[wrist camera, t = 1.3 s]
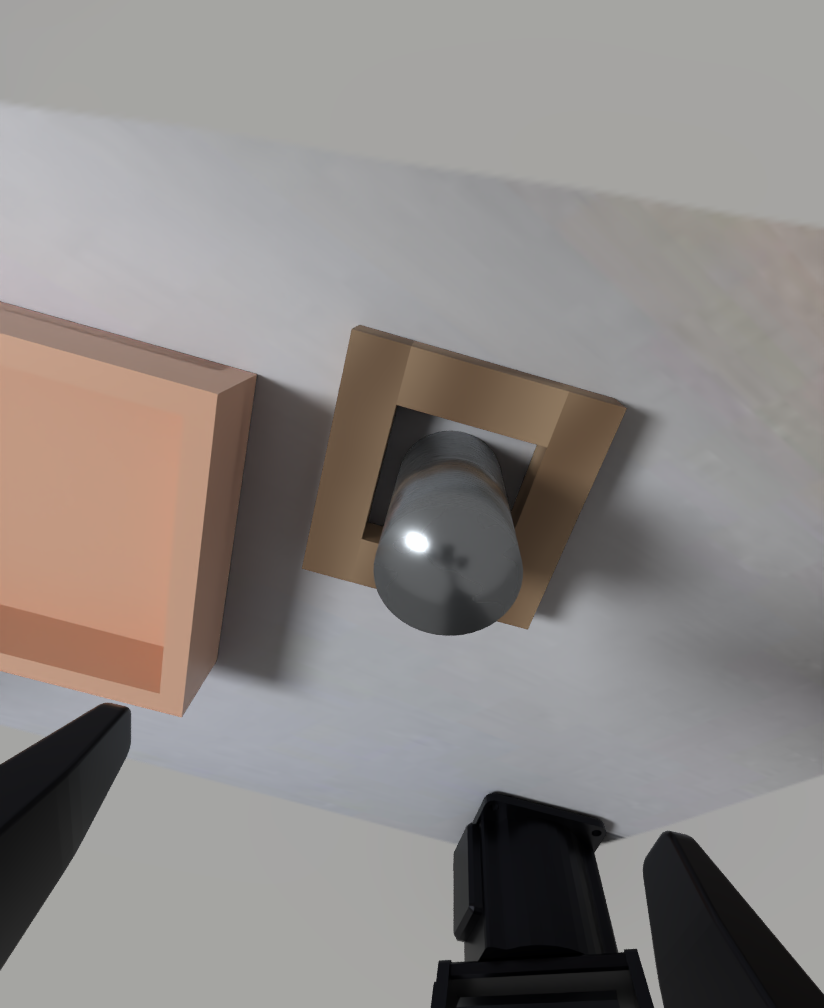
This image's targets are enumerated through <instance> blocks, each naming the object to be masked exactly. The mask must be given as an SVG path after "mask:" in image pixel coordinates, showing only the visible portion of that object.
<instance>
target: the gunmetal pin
mask: <svg viewBox="0 0 824 1008" xmlns="http://www.w3.org/2000/svg"><path fill="white" fill-rule="evenodd" d="M373 572H374V581H375V585H376V588H377V591H378V593H379V595H380V597H381V599H382V601H383V602H384V604H385V605H386V606H387V608H388V609H389V610H390V611H391V612H392V613H393V614H394V615H395V616H396V617H397V618H399V619H400V620H401V621H403V622H404V623H406V624H408V625H409V626H411V627H413V628H416V629H418V630H421V631H424V632H427V633H431V634H436V635H463V634H468V633H472V632H475V631H478V630H481V629H483V628H485V627H488V626H490V625H491V624H493V623H494V622H496V621H497V620H499V619H500V618H501V617H502V616H503V615H504V614H505V613H506V612H507V611H508V610H509V609H510V608H511V606H512V605H513V604H514V602H515V600H516V598H517V596H518V594H519V592H520V589H521V585H522V580H523V565H522V559H521V555H520V550H519V546H518V542H517V538H516V533H515V529H514V525H513V520H512V516H511V512H510V507H509V503H508V499H507V495H506V490H505V486H504V482H503V477H502V473H501V469H500V465H499V462H498V460H497V458H496V456H495V455H494V453H493V452H492V450H491V449H490V448H489V447H488V446H487V445H486V444H485V443H484V442H482V441H481V440H480V439H478V438H476V437H474V436H472V435H470V434H467V433H463V432H459V431H442V432H437V433H434V434H431V435H428V436H426V437H424V438H423V439H421V440H419V441H418V442H417V443H416V444H414V445H413V446H412V447H411V449H410V450H409V451H408V452H407V454H406V455H405V457H404V459H403V461H402V464H401V467H400V470H399V474H398V477H397V481H396V484H395V488H394V492H393V495H392V499H391V502H390V506H389V509H388V513H387V516H386V520H385V523H384V527H383V530H382V534H381V537H380V541H379V544H378V548H377V551H376V555H375V560H374V571H373Z"/></svg>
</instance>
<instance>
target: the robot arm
mask: <svg viewBox="0 0 824 1008" xmlns="http://www.w3.org/2000/svg"><path fill="white" fill-rule="evenodd" d="M130 745H131V711H130V709H129V708H128V707H126V706H121V705H117V704H112V703H103V704H100V705H98V706H97V707H95V708H93V709H92V710H90V711H88V712H87V713H85V714H83V715H82V716H80V717H78V718H77V719H75V720H73V721H72V722H70V723H68V724H67V725H65V726H63V727H62V728H60V729H58V730H57V731H55V732H53V733H52V734H50V735H48V736H47V737H45V738H43V739H42V740H40V741H39V742H37V743H35V744H34V745H32V746H30V747H29V748H27V749H25V750H24V751H22V752H20V753H19V754H17V755H15V756H14V757H12V758H10V759H9V760H7V761H5V762H4V763H2V764H0V970H1V969H2V967H3V966H4V964H5V963H6V961H7V959H8V958H9V956H10V955H11V953H12V952H13V950H14V949H15V947H16V946H17V944H18V942H19V941H20V939H21V938H22V936H23V935H24V933H25V932H26V930H27V928H28V927H29V925H30V924H31V922H32V921H33V919H34V918H35V916H36V915H37V913H38V912H39V910H40V908H41V907H42V905H43V904H44V902H45V901H46V899H47V898H48V896H49V895H50V893H51V892H52V890H53V889H54V887H55V885H56V884H57V882H58V881H59V879H60V878H61V876H62V875H63V873H64V871H65V870H66V868H67V867H68V865H69V863H70V861H71V860H72V859H73V857H74V855H75V853H76V852H77V850H78V848H79V846H80V844H81V842H82V841H83V839H84V837H85V835H86V833H87V831H88V829H89V827H90V825H91V823H92V821H93V820H94V818H95V816H96V814H97V812H98V810H99V808H100V806H101V804H102V803H103V801H104V799H105V797H106V795H107V793H108V791H109V789H110V787H111V785H112V784H113V782H114V780H115V778H116V776H117V774H118V772H119V770H120V768H121V766H122V765H123V763H124V760H125V759H126V757H127V754H128V752H129V749H130ZM605 836H606V829H605V826H604V823H603V822H602V821H600V820H598V819H594V818H590V817H586V816H582V815H578V814H574V813H571V812H567V811H563V810H559V809H555V808H551V807H547V806H543V805H539V804H535V803H531V802H528V801H524V800H520V799H516V798H512V797H508V796H504V795H500V794H496V793H492V794H488V795H486V797H485V798H484V800H483V802H482V804H481V806H480V808H479V810H478V812H477V814H476V816H475V818H474V820H473V823H470V824H469V825H468V826H467V827H466V829H465V831H464V833H463V835H462V837H461V839H460V841H459V843H458V845H457V848H456V850H455V851H454V863H453V871H454V935H455V937H456V939H457V940H458V941H462V942H464V948H465V949H464V953H465V962H451V960H442V961H439V963H438V971H437V979H436V982H434V985H433V994H432V1003H431V1008H654V1006H653V1003H652V999H651V996H650V992H649V989H648V985H647V982H646V979H645V975H644V972H643V968H642V965H641V961H640V958H639V955H638V952H637V949H626V950H624V952H623V953H622V952H621V953H618V949H617V945H616V941H615V937H614V933H613V929H612V925H611V920H610V916H609V912H608V908H607V904H606V899H605V895H604V891H603V887H602V883H601V879H600V875H599V870H598V867H597V862H596V858H595V854H594V852H595V851H596V849H597V848H598V846H599V845H600V843H601V842H602V840H603V839H604V837H605ZM643 878H644V885H645V892H646V899H647V906H648V913H649V919H650V926H651V933H652V940H653V948H654V954H655V962H656V968H657V974H658V980H659V986H660V990H661V995H662V1000H663V1005H664V1008H824V994H823V993H822V992H821V990H820V989H819V988H818V987H817V986H816V984H815V983H814V982H813V981H812V980H811V978H810V977H809V976H808V975H807V974H806V972H805V971H804V970H803V969H802V968H801V966H800V965H799V964H798V963H797V962H796V960H795V959H794V958H793V957H792V956H791V954H790V953H789V952H788V951H787V950H786V949H785V947H784V946H783V945H782V944H781V943H780V941H779V940H778V939H777V938H776V937H775V935H774V934H773V933H772V932H771V931H770V929H769V928H768V927H767V926H766V925H765V923H764V922H763V921H762V920H761V919H760V918H759V916H758V915H757V914H756V913H755V911H754V910H753V909H752V908H751V907H750V905H749V904H748V903H747V902H746V901H745V899H744V898H743V897H742V896H741V895H740V893H739V892H738V891H737V890H736V889H735V888H734V886H733V885H732V884H731V883H730V882H729V880H728V879H727V878H726V877H725V876H724V874H723V873H722V872H721V871H720V870H719V868H718V867H717V866H716V865H715V864H714V863H713V861H712V860H711V859H710V858H709V856H708V855H707V854H706V853H705V852H704V850H703V849H702V848H701V847H700V846H699V844H698V843H697V842H696V841H695V840H694V839H693V838H692V837H690V836H688V835H685V834H681V833H677V832H672V831H665V832H663V833H662V834H661V836H660V837H659V838H658V840H657V841H656V843H655V844H654V846H653V847H652V849H651V850H650V852H649V853H648V855H647V856H646V858H645V860H644V864H643Z"/></svg>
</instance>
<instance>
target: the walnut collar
mask: <svg viewBox="0 0 824 1008" xmlns="http://www.w3.org/2000/svg"><path fill="white" fill-rule="evenodd" d="M398 405H399V406H402V407H406V408H409V409H413V410H416V411H420V412H424V413H427V414H431V415H434V416H438V417H441V418H445V419H448V420H452V421H455V422H459V423H462V424H466V425H469V426H473V427H476V428H480V429H483V430H487V431H490V432H494V433H498V434H501V435H505V436H508V437H512V438H515V439H519V440H522V441H526V442H529V443H533V444H536V445H537V446H536V449H535V451H534V454H533V457H532V459H531V462H530V464H529V467H528V469H527V472H526V475H525V477H524V480H523V482H522V485H521V488H520V490H519V493H518V495H517V498H516V501H515V503H514V506H513V508H512V511H511V516H512V520H513V525H514V529H515V533H516V538H517V542H518V546H519V550H520V555H521V559H522V565H523V580H522V585H521V589H520V592H519V594H518V596H517V598H516V600H515V602H514V604H513V605H512V606H511V608H510V609H509V610H508V611H507V612H506V613H505V614H504V615H503V616H502V617H501V618H500V619H499V620H497V621H498V622H502V623H505V624H509V625H513V626H516V627H520V628H524V629H528V628H529V626H530V623H531V621H532V619H533V617H534V614H535V612H536V610H537V608H538V606H539V603H540V601H541V599H542V597H543V594H544V592H545V590H546V588H547V585H548V583H549V581H550V579H551V577H552V574H553V572H554V570H555V568H556V565H557V563H558V561H559V559H560V556H561V554H562V552H563V550H564V548H565V545H566V543H567V541H568V539H569V536H570V534H571V532H572V530H573V527H574V525H575V523H576V521H577V518H578V516H579V514H580V512H581V510H582V507H583V505H584V503H585V501H586V498H587V496H588V494H589V492H590V489H591V487H592V485H593V483H594V481H595V478H596V476H597V474H598V472H599V469H600V467H601V465H602V463H603V460H604V458H605V456H606V454H607V452H608V449H609V447H610V445H611V443H612V440H613V438H614V436H615V434H616V431H617V429H618V427H619V425H620V422H621V420H622V418H623V416H624V414H625V411H626V409H627V408H626V407H625V406H623V405H622V404H621V403H619V402H618V401H617V400H616V399H614V398H611V397H608V396H604V395H601V394H597V393H594V392H590V391H587V390H583V389H580V388H576V387H573V386H569V385H566V384H563V383H559V382H556V381H552V380H549V379H545V378H542V377H538V376H535V375H531V374H528V373H524V372H521V371H518V370H514V369H511V368H507V367H504V366H500V365H497V364H493V363H490V362H486V361H483V360H479V359H476V358H473V357H469V356H466V355H462V354H459V353H455V352H452V351H448V350H445V349H441V348H438V347H434V346H431V345H428V344H424V343H421V342H417V341H414V340H410V339H407V338H403V337H400V336H396V335H393V334H389V333H386V332H383V331H379V330H376V329H372V328H369V327H365V326H362V325H358V326H356V327H355V328H353V329H352V330H351V335H350V340H349V345H348V350H347V354H346V359H345V364H344V369H343V374H342V378H341V383H340V388H339V393H338V398H337V402H336V407H335V412H334V417H333V421H332V426H331V431H330V436H329V441H328V445H327V450H326V455H325V460H324V465H323V469H322V474H321V479H320V484H319V489H318V493H317V498H316V503H315V508H314V512H313V517H312V522H311V527H310V532H309V536H308V541H307V546H306V551H305V556H304V560H303V565H302V569H305V570H309V571H312V572H316V573H320V574H323V575H327V576H331V577H335V578H338V579H342V580H346V581H349V582H353V583H357V584H361V585H364V586H368V587H372V588H375V589H377V588H376V585H375V581H374V572H373V571H374V560H375V555H376V551H377V548H378V544H379V541H380V537H381V534H382V530H383V526H379V525H376V524H372V523H368V518H369V514H370V511H371V507H372V503H373V499H374V495H375V491H376V487H377V484H378V480H379V476H380V472H381V468H382V464H383V460H384V457H385V453H386V449H387V445H388V441H389V437H390V433H391V430H392V426H393V422H394V418H395V414H396V410H397V407H398Z"/></svg>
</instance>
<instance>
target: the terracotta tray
mask: <svg viewBox="0 0 824 1008" xmlns="http://www.w3.org/2000/svg"><path fill="white" fill-rule="evenodd" d="M256 378H257V374H254V373H251V372H247V371H244V370H240V369H237V368H233V367H230V366H226V365H223V364H219V363H216V362H212V361H208V360H205V359H201V358H198V357H194V356H191V355H187V354H184V353H180V352H177V351H173V350H170V349H166V348H163V347H159V346H155V345H152V344H148V343H145V342H141V341H138V340H134V339H131V338H127V337H124V336H120V335H117V334H113V333H110V332H106V331H102V330H99V329H95V328H92V327H88V326H85V325H81V324H78V323H74V322H71V321H67V320H64V319H60V318H57V317H53V316H49V315H46V314H42V313H39V312H35V311H32V310H28V309H25V308H21V307H18V306H14V305H11V304H7V303H4V302H0V671H3V672H6V673H10V674H14V675H18V676H22V677H26V678H30V679H34V680H38V681H42V682H46V683H49V684H53V685H57V686H61V687H65V688H69V689H73V690H77V691H81V692H85V693H89V694H92V695H96V696H100V697H104V698H108V699H112V700H116V701H120V702H124V703H128V704H132V705H135V706H139V707H143V708H147V709H151V710H155V711H159V712H163V713H167V714H171V715H175V716H178V717H182V716H183V715H184V713H185V711H186V710H187V708H188V706H189V705H190V703H191V702H192V700H193V698H194V697H195V695H196V693H197V692H198V690H199V689H200V687H201V685H202V684H203V682H204V681H205V679H206V677H207V676H208V674H209V672H210V671H211V669H212V668H213V666H214V664H215V663H216V661H217V655H218V648H219V641H220V634H221V627H222V620H223V613H224V606H225V599H226V591H227V584H228V577H229V570H230V563H231V556H232V549H233V542H234V535H235V528H236V520H237V513H238V506H239V499H240V492H241V485H242V478H243V471H244V464H245V456H246V449H247V442H248V435H249V428H250V421H251V414H252V407H253V400H254V392H255V385H256Z"/></svg>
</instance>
